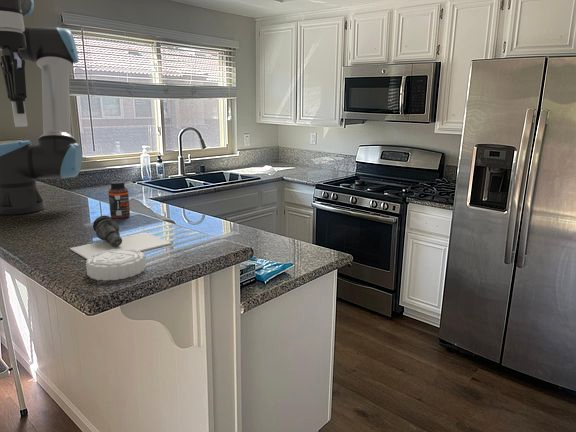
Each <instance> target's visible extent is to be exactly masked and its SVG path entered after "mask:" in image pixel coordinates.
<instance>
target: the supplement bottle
mask: <svg viewBox="0 0 576 432" xmlns="http://www.w3.org/2000/svg"><path fill="white" fill-rule="evenodd" d="M108 203H109V213H110V214H109V215H110V217H111V218H112V219H126V218H129V217H130V216H131V212H130V209H131V208H130V197H129V189H127V187H125V181H119V180H118V181H112V182H110V188H109V189H108Z"/></svg>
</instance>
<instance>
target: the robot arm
mask: <svg viewBox="0 0 576 432" xmlns="http://www.w3.org/2000/svg"><path fill="white" fill-rule="evenodd" d="M34 9H35V2H34V0H0V52H1V53H2V54H1V56H0V68H1V71H2V74H3V79H4V84H5V89H6V93H7V94H6V95H7V98H8V100H10V103H11V108H12V109H11V110H12V117H13V123H14V127H15V128H21V127H24V128H25V127H26V128H27V127H28V126H29V124H28V118H27V110H26V103H25V102H26V99H27V98H28V97H27V84H26V71H25V70H26V69H25V68H26V67H25V66H26V62H27V63H28V62H29V63H32V62H33V63H36V65H37V67H38V68H39V69H41V98H42V102H41V103H42V132H43V133H42V134H41V135H40V136H39V137H38V138H37V139H38V141H37V142H38V143H37V144H32V142H31V141H30V139H29V140H28V139H27V140H19V141H13V142H5V143H0V215H2V216H3V215H4V216H5V215H7V216H8V215H9V216H10V215H11V216H12V215H24V214H29V213H35V212H39V211H42V210H44V209H46V204H45V200H44V198H43V196H42V194H41V192H40V190H39V189H38V187H37V186H38V185H37V181H36V180H42V179H45V180H46V179H68V178H69V179H70V178H75V177H77V176H78V175H79V174H80V172H81V169H82V163H83V161H82V160H83V153H82V152H83V151H82V146H81V144H80V143H77V139H76V138H75V137H74V136H73V135H72V126H71V98H70V91H71V90H70V72H71V71H73V70H74V64H78V63H79V54H78V49H77V46H76V42H75V39H74V35H73V33H72V31H71V30H70V29H69V28H65V27H64V28H63V27H58V26H56V27H48V26H47V27H46V26H28V25H27V26H25V23H24V18H26V17H29V16H30V15H31V14H32V13H33V11H34Z"/></svg>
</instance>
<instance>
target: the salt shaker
mask: <svg viewBox="0 0 576 432" xmlns="http://www.w3.org/2000/svg"><path fill="white" fill-rule="evenodd" d="M92 228H93V230H94V232H95V235H96V237H97V238H98V239H99V240H102V241H107V242H109V243H110V244H111V245H112V246H114V247H117V246H119V245H121V243H122V238H121V237H122V236H121V233H120V232H119V231H120V226H119V224H118V222H116V221H115V220H113V218H112V217H111V216H109V215H101V216H98V217H96V218H95V220H94V221H93V224H92Z"/></svg>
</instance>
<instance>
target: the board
mask: <svg viewBox="0 0 576 432" xmlns="http://www.w3.org/2000/svg"><path fill="white" fill-rule="evenodd" d="M120 237H121V238H122V243H121V245H119V246H117V247H114V246H112V245H111V244H110V243H109V242H107V241H106V240H102V241H98V242H93V243H87V244H82V245H79V246H73V247H70V248H69V249H70V251H72V252H74V253H75V254H76V255H78V256H81V257H82V258H83V259H85V260H88V259H89V257H91V256H93V255H95V254H96V253H101V252H105V251H108V250H112V249H135V250H136V251H141V252H142V253H143V252H145V251H149V250H153V249H157V248H161V247H162V248H163V247H165V246H170V245H172V242H170V241H168V240H165V239H162V238H160V237H158V236H156V235H152V234H151V233H148V232H145V231H144V232H140V233H135V234H131V235H126V236H120Z"/></svg>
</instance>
